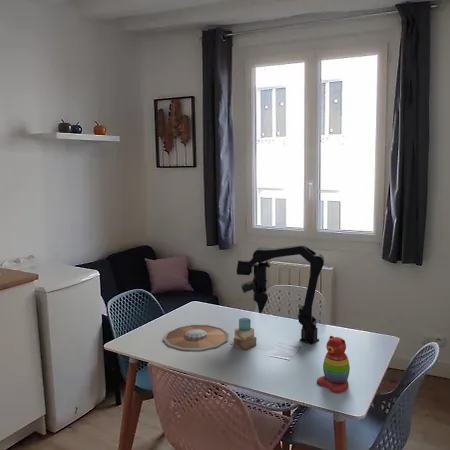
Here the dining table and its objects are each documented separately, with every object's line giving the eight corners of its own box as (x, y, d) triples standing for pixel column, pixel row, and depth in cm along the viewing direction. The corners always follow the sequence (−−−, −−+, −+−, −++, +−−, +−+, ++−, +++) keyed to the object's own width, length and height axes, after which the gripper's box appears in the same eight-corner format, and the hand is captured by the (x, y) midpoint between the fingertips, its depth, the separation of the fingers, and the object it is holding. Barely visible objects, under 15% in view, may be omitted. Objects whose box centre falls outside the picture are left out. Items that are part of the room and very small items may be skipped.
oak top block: (254, 337, 207) (254, 329, 207) (244, 341, 203) (244, 332, 203) (244, 334, 212) (244, 325, 211) (234, 337, 207) (234, 328, 207)
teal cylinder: (252, 328, 207) (252, 319, 206) (245, 331, 203) (245, 322, 203) (243, 325, 210) (244, 317, 210) (236, 328, 207) (236, 320, 206)
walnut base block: (256, 346, 208) (256, 337, 208) (245, 351, 203) (245, 342, 203) (244, 341, 213) (244, 333, 212) (233, 346, 208) (233, 337, 207)
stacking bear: (314, 382, 174) (315, 336, 172) (333, 375, 180) (334, 330, 178) (336, 394, 166) (338, 346, 163) (356, 386, 171) (358, 339, 169)
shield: (179, 317, 235) (237, 324, 226) (179, 323, 236) (237, 330, 226) (151, 340, 207) (215, 349, 198) (151, 347, 208) (216, 356, 198)
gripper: (242, 271, 224) (242, 303, 226) (242, 281, 205) (242, 316, 208) (266, 271, 223) (266, 303, 226) (267, 281, 205) (267, 316, 207)
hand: (260, 309), depth 217 cm, fingers open, 9 cm apart
